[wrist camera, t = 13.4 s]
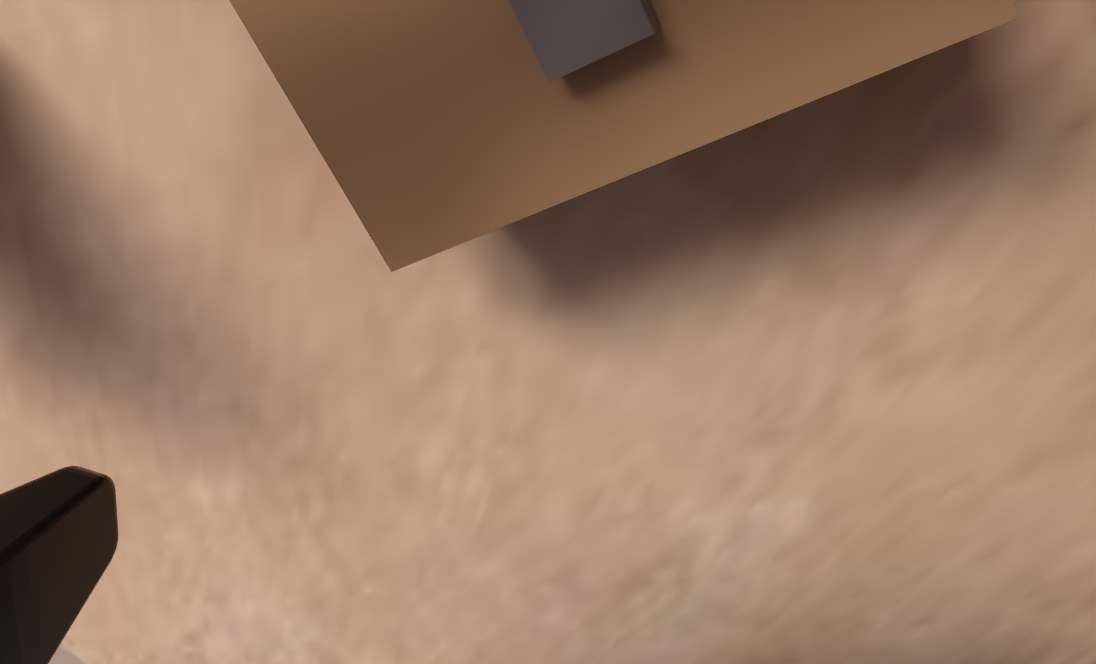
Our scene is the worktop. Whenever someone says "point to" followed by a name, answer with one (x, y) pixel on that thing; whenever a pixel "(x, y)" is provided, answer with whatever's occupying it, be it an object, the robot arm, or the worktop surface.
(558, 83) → the brown slab with collar
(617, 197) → the worktop surface
